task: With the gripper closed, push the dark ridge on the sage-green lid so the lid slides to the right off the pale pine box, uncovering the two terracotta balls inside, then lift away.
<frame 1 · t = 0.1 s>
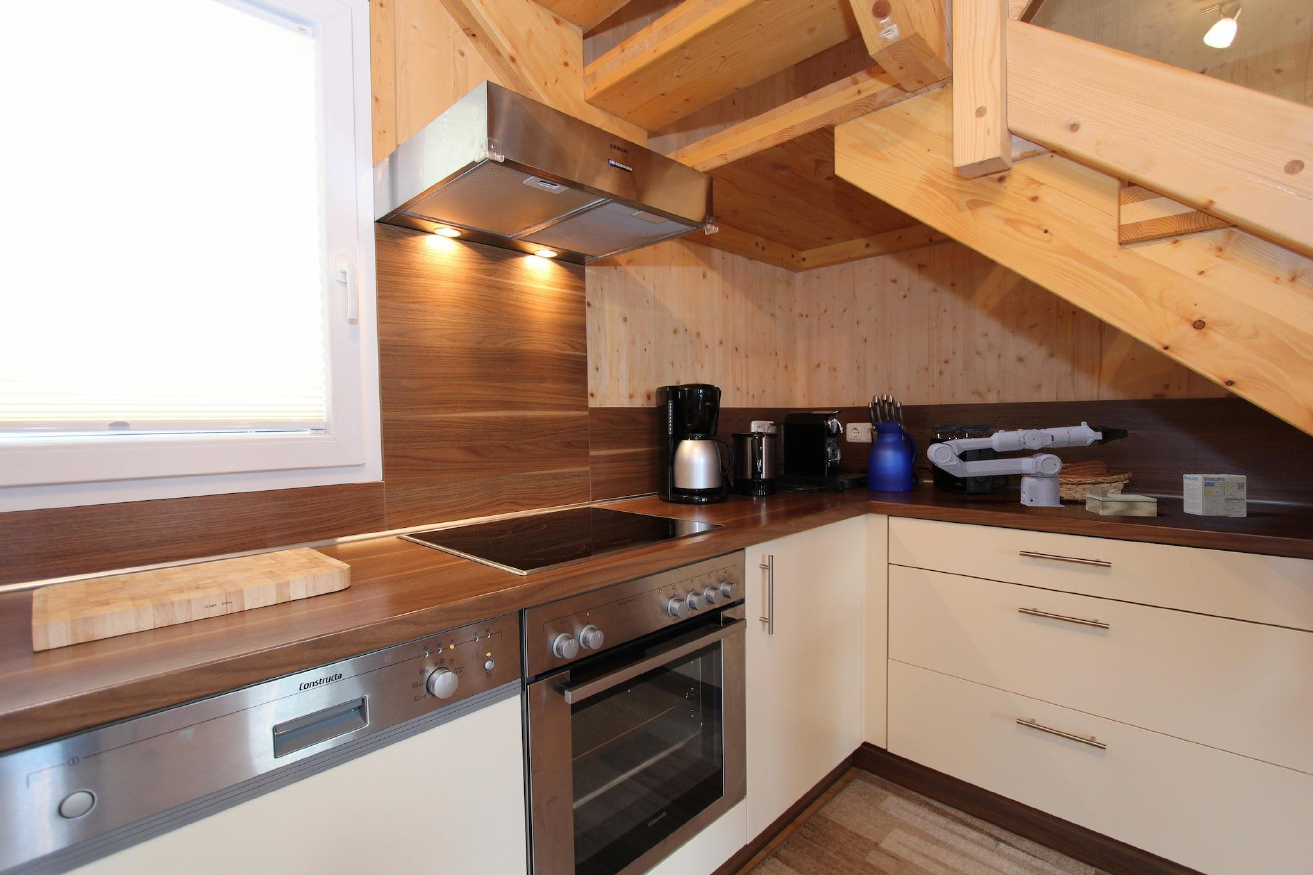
hand: (1121, 433, 170), 22 cm above the table, tool horizontal, fingers open, 7 cm apart
lid: (1119, 493, 158), point 6 cm above the table, slide at 0.0 cm
light bulb box: (1214, 516, 154), on the table
pine box: (1119, 514, 158), on the table
ball b: (1133, 513, 155), resting on pine box
ball a: (1106, 511, 160), resting on pine box
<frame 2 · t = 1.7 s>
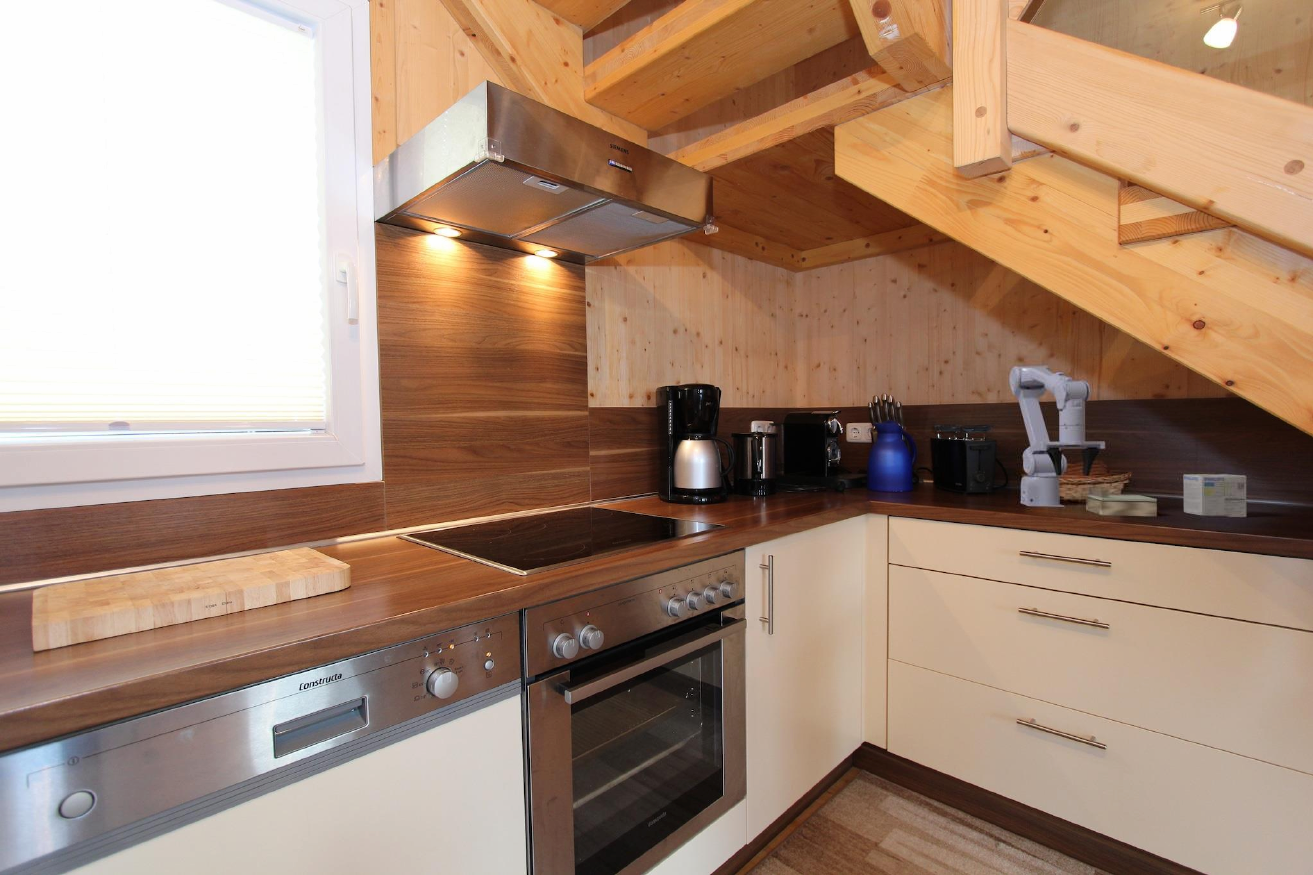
hand: (1072, 475, 160), 10 cm above the table, tool pointing down, fingers open, 6 cm apart
nothing on the table moved.
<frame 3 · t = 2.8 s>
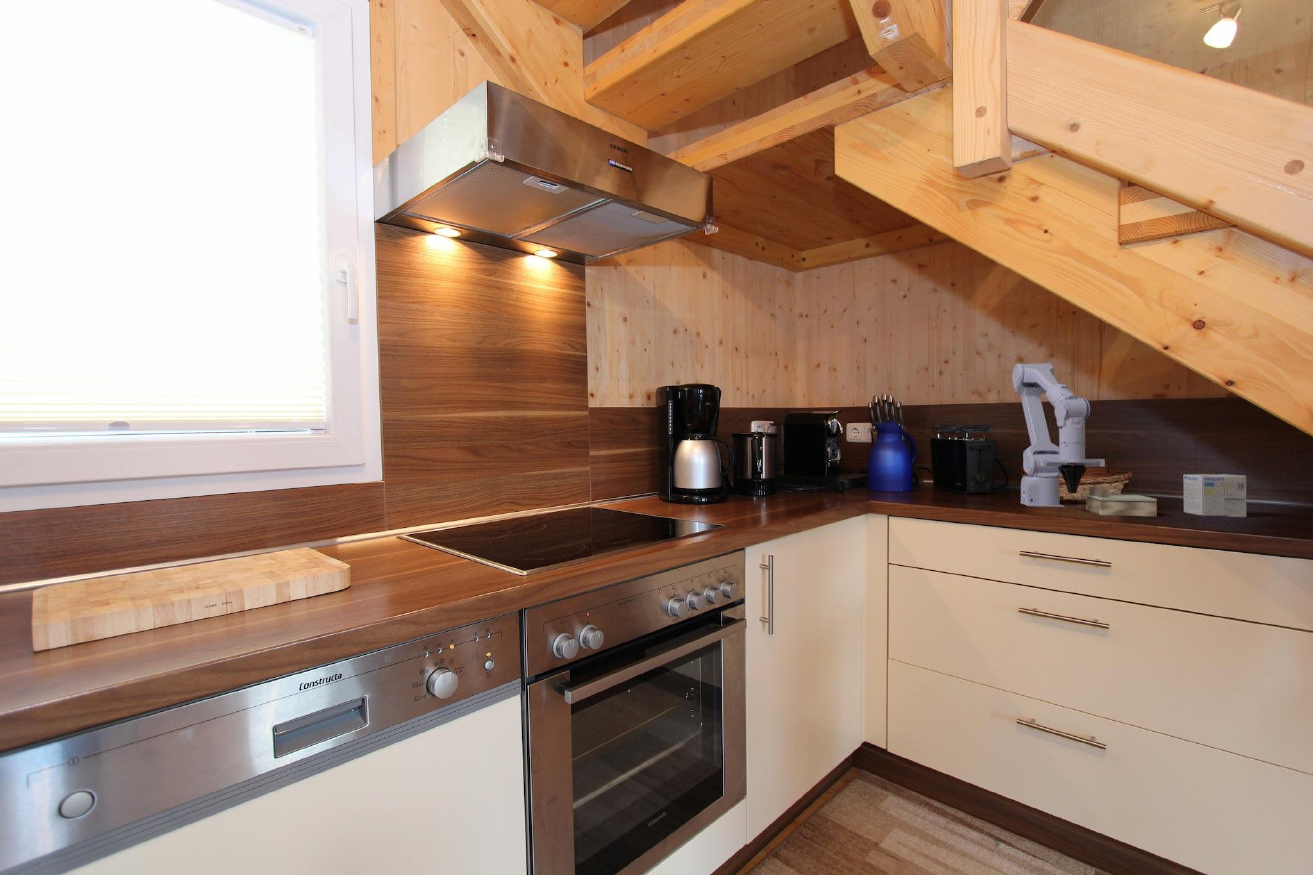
hand: (1072, 492, 161), 6 cm above the table, tool pointing down, fingers closed
nothing on the table moved.
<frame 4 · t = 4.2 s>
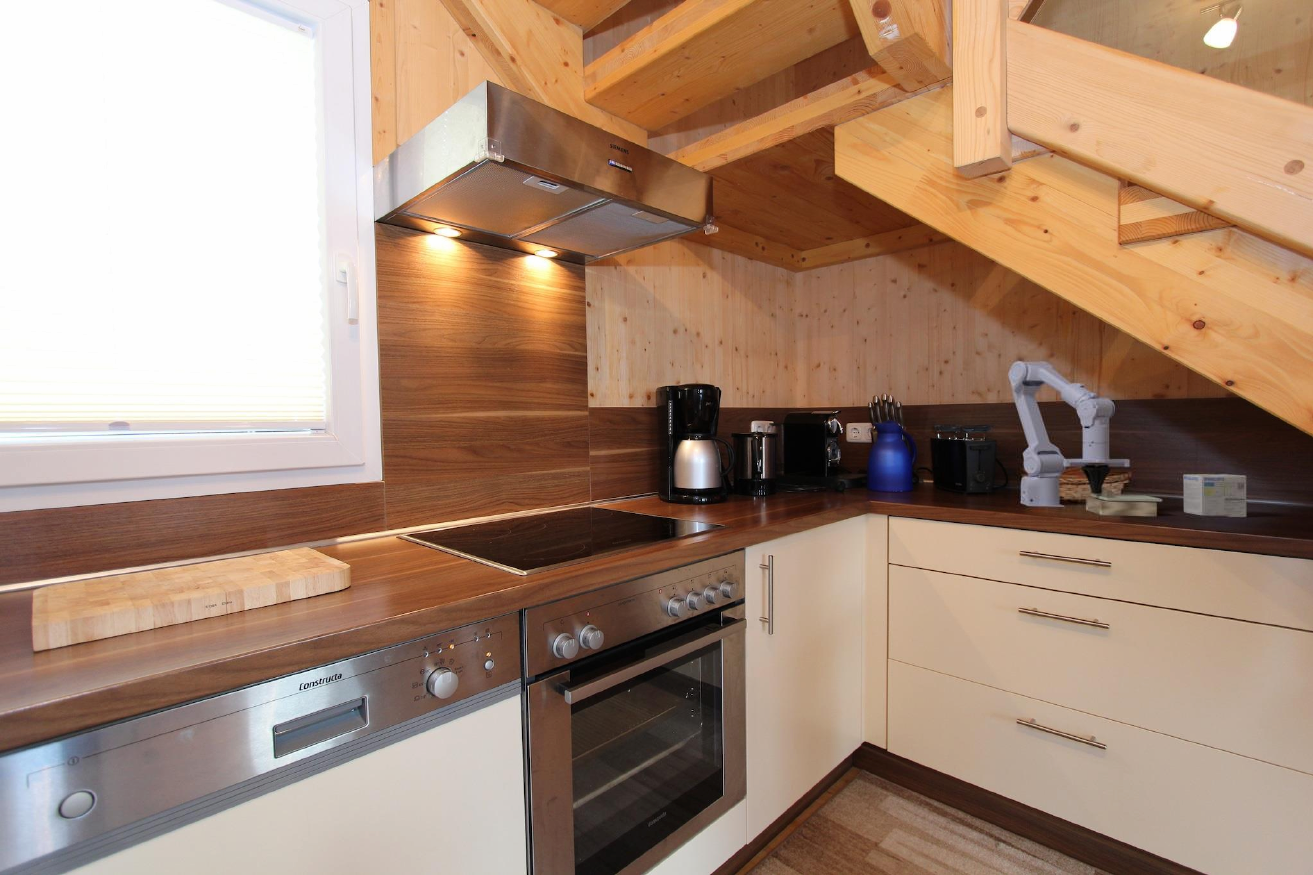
hand: (1095, 493, 159), 6 cm above the table, tool pointing down, fingers closed
lid: (1124, 493, 157), point 6 cm above the table, slide at 1.1 cm, touching gripper
everything else where it was.
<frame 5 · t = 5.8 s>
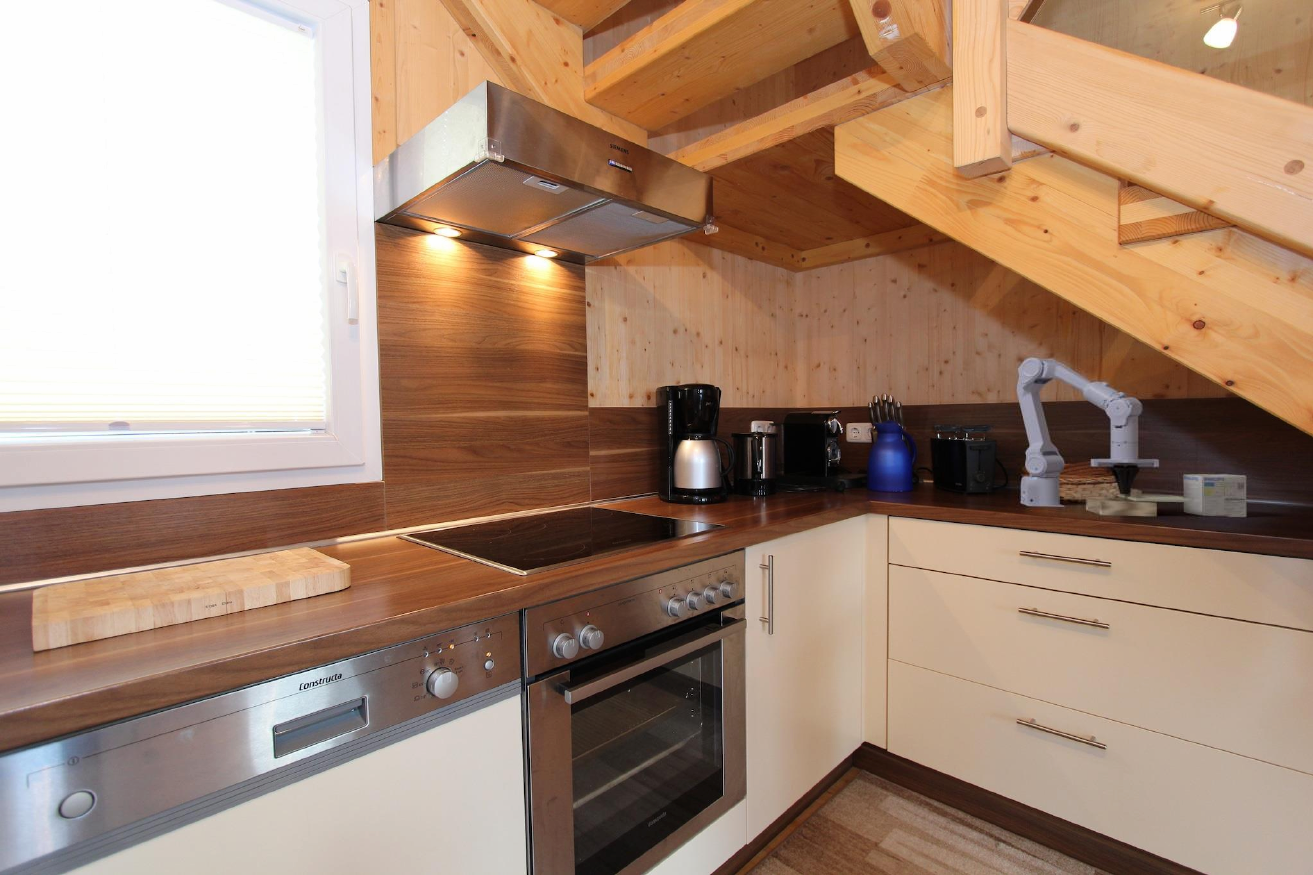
hand: (1124, 493, 157), 6 cm above the table, tool pointing down, fingers closed
lid: (1154, 494, 155), point 6 cm above the table, slide at 7.6 cm, touching gripper
everything else where it was.
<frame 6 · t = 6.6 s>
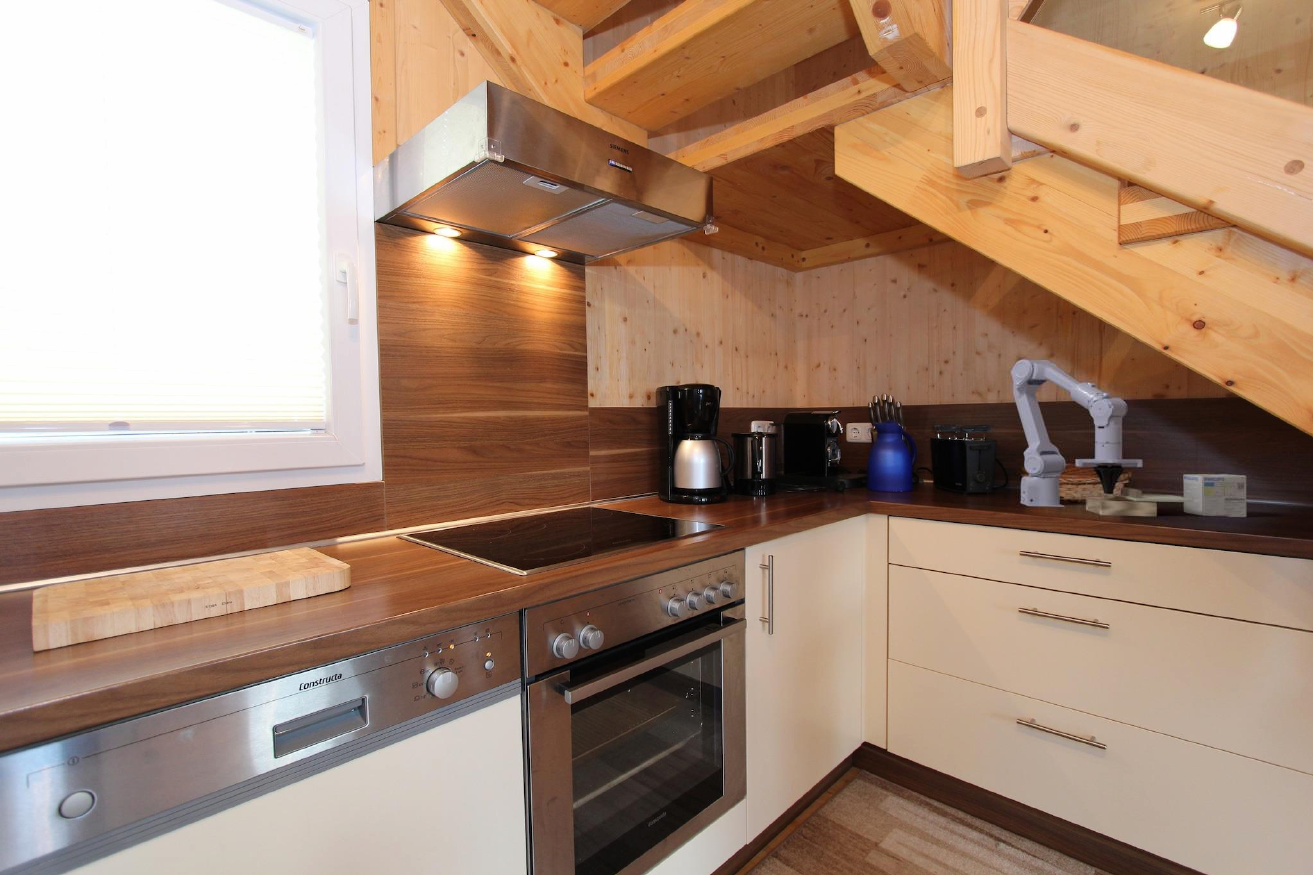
hand: (1108, 493, 158), 6 cm above the table, tool pointing down, fingers closed
lid: (1154, 494, 155), point 6 cm above the table, slide at 7.6 cm
everything else where it was.
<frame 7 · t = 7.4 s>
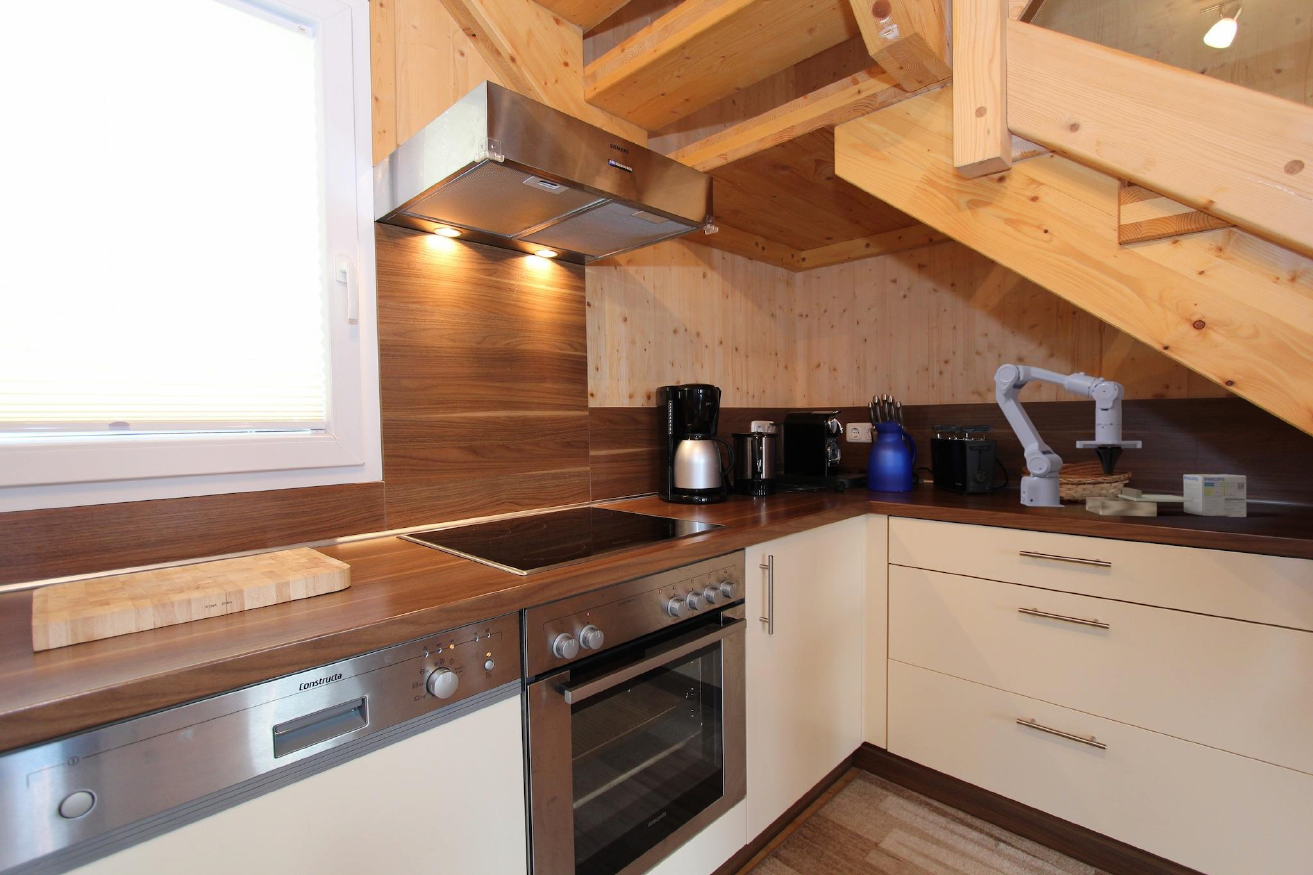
hand: (1108, 474, 163), 10 cm above the table, tool pointing down, fingers closed
nothing on the table moved.
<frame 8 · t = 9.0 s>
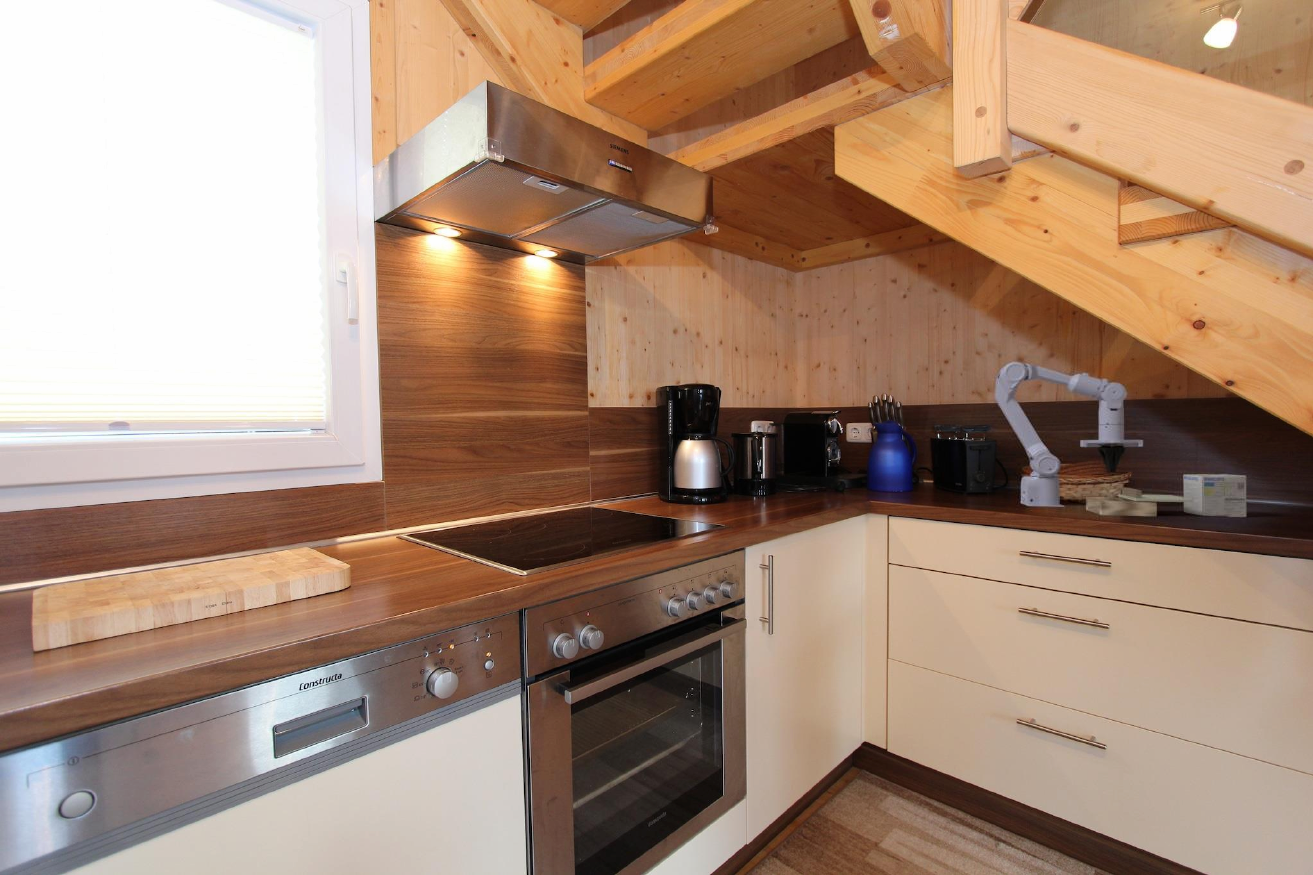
hand: (1111, 472, 169), 10 cm above the table, tool pointing down, fingers closed
nothing on the table moved.
at the end: lid slide at 7.6 cm; lid 0.2 cm from the target spot on the table beside the pine box, resting on pine box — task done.
